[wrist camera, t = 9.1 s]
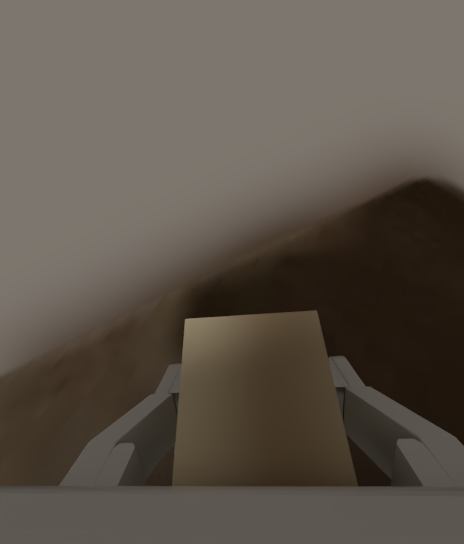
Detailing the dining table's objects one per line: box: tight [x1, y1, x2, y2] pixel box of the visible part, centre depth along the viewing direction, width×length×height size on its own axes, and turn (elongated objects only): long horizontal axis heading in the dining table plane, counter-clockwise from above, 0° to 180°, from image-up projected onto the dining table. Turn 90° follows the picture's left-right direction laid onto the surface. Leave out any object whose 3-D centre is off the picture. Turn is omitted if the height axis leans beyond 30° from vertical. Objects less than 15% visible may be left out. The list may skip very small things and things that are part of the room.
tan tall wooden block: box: [172, 310, 358, 486], centre depth 9 cm, size 4×4×9 cm
